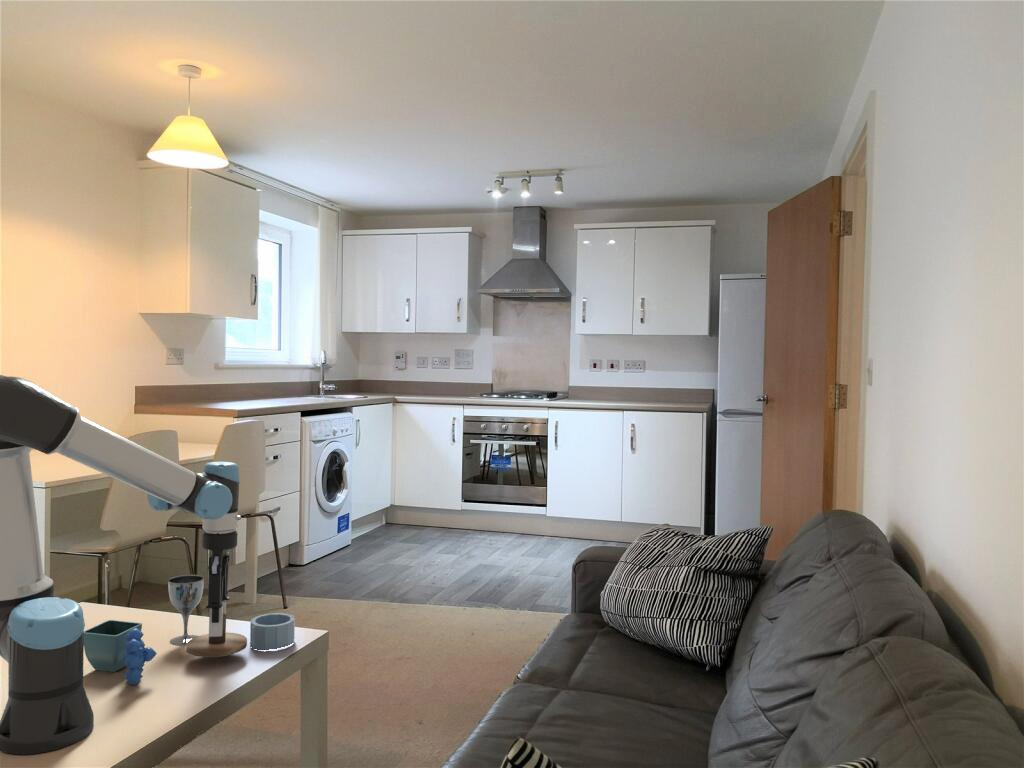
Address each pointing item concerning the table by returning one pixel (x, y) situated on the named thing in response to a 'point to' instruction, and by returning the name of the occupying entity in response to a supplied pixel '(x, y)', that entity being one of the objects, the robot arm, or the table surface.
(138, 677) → the grapes
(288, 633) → the bowl
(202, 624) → the table surface
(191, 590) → the wine glass
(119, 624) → the flower pot
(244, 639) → the lid
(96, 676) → the table surface
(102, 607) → the table surface
